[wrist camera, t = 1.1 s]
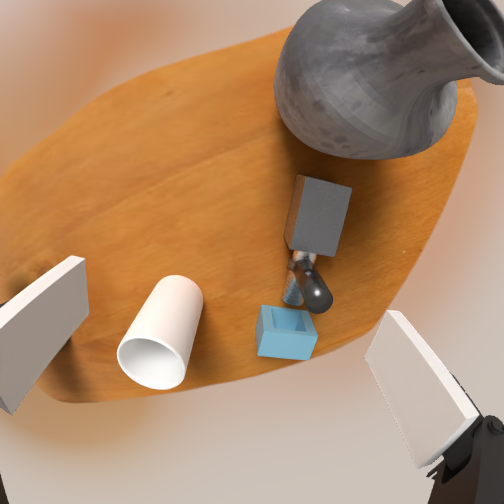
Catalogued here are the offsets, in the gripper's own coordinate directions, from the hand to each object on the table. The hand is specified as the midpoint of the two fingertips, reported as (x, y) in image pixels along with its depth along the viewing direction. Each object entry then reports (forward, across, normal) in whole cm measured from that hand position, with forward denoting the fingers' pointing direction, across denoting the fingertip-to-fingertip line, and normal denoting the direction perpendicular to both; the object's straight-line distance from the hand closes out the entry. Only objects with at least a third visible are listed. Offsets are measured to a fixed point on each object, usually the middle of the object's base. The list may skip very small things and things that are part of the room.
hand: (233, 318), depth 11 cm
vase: (+29, +8, +16) cm, 34 cm away
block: (+29, +10, +1) cm, 30 cm away
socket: (+29, +10, -17) cm, 35 cm away
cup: (+29, -7, -17) cm, 34 cm away
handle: (+28, +10, -3) cm, 30 cm away
